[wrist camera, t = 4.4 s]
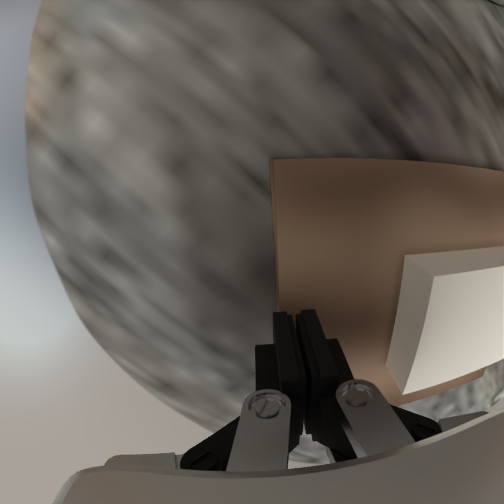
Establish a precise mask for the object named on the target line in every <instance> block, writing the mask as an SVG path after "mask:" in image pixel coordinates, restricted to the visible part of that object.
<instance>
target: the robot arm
mask: <svg viewBox="0 0 504 504" xmlns="http://www.w3.org/2000/svg"><path fill="white" fill-rule="evenodd" d="M491 1H493V2H495V3H497V4H500V5H504V0H491ZM273 340H274V344H266V345H255V364H256V391H255V392H254V393H252V394H250V395H249V396H248V397H247V398H246V399H245V401H244V403H243V407H242V411H241V415H240V416H239V417H237V418H236V419H235V420H233V421H232V422H230V423H229V424H227V425H226V426H225V427H223V428H222V429H220V430H219V431H217V432H216V433H214V434H213V435H211V436H210V437H208V438H207V439H205V440H203V441H202V442H201V443H199V444H197V445H196V446H194V447H192V448H191V449H189V450H188V451H187V452H186V453H184V454H182V455H175V453H160V454H141V455H116V456H113V457H112V458H109V459H108V460H107V462H106V463H105V465H104V466H97V467H91V468H87V469H83V470H80V471H78V472H76V473H75V474H73V475H72V476H71V477H70V478H69V479H68V480H67V481H66V482H65V484H64V485H63V486H62V488H61V490H60V491H59V493H58V494H57V496H56V498H55V500H54V503H53V504H504V409H500V410H496V411H494V412H491V413H488V412H485V411H481V412H475V413H470V414H465V415H460V416H455V417H449V418H442V419H439V421H438V422H435V421H434V420H432V419H430V418H427V417H424V416H421V415H418V414H415V413H412V412H410V411H407V410H404V409H401V408H399V407H396V406H393V405H391V404H389V403H388V402H387V400H386V399H385V397H384V396H383V395H382V393H381V392H380V390H379V389H378V388H377V387H376V386H375V385H374V384H373V383H371V382H369V381H366V380H363V379H354V377H353V374H352V372H351V369H350V367H349V365H348V362H347V360H346V357H345V355H344V353H343V350H342V348H341V346H340V343H339V341H338V339H337V338H333V339H326V337H325V334H324V332H323V329H322V326H321V324H320V321H319V319H318V316H317V313H316V311H315V309H307V310H301V312H300V314H296V322H295V325H294V321H293V317H292V314H289V315H287V312H286V311H281V312H273ZM303 421H304V425H305V431H306V434H311V435H312V440H313V441H317V442H319V443H321V444H322V445H324V446H325V451H326V454H327V456H328V459H329V461H330V463H331V464H325V465H319V466H311V467H303V468H294V469H288V459H289V453H290V452H291V451H292V450H293V449H294V448H295V447H296V446H297V445H298V444H299V438H300V435H302V432H303Z"/></svg>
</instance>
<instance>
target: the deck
mask: <svg viewBox="0 0 504 504" xmlns="http://www.w3.org/2000/svg"><path fill="white" fill-rule="evenodd" d="M269 165H270V181H271V198H272V216H273V236H274V257H275V280H276V306H277V312H281V311H286V312H287V315H289V314H292V317H293V321H294V325H295V322H296V314H300V312H301V310H307V309H315V311H316V313H317V316H318V319H319V321H320V324H321V326H322V329H323V332H324V334H325V337H326V339H333V338H337V339H338V341H339V343H340V346H341V348H342V350H343V353H344V355H345V357H346V360H347V362H348V365H349V367H350V369H351V372H352V374H353V377H354V379H363V380H366V381H369V382H371V383H373V384H374V385H375V386H376V387H377V388H378V389H379V390H380V392H381V393H382V395H383V396H384V397H385V399H386V400H387V402H388V403H389V404H391V405H393V406H399V405H402V404H406V403H410V402H413V401H416V400H420V399H423V398H426V397H429V396H432V395H435V394H438V393H441V392H444V391H447V390H450V389H452V388H455V387H458V386H460V385H463V384H465V383H468V382H470V381H473V380H475V379H477V378H480V377H482V376H483V374H484V371H485V369H486V367H487V366H486V367H483V368H481V369H478V370H476V371H474V372H471V373H469V374H466V375H463V376H461V377H458V378H455V379H452V380H450V381H447V382H444V383H441V384H438V385H435V386H432V387H428V388H425V389H422V390H418V391H415V392H411V393H408V394H404V395H402V393H401V391H400V389H399V388H398V386H397V384H396V382H395V380H394V379H393V377H392V375H391V373H390V371H389V370H388V368H387V366H386V361H387V356H388V352H389V348H390V344H391V339H392V334H393V329H394V324H395V319H396V314H397V308H398V302H399V296H400V289H401V282H402V275H403V267H404V258H405V255H413V254H425V253H436V252H447V251H458V250H469V249H479V248H489V247H499V246H504V172H503V171H497V170H491V169H485V168H478V167H470V166H463V165H454V164H445V163H435V162H424V161H411V160H395V159H372V158H293V159H271V160H269ZM303 423H304V421H303Z"/></svg>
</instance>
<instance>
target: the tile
mask: <svg viewBox="0 0 504 504" xmlns="http://www.w3.org/2000/svg"><path fill="white" fill-rule="evenodd" d="M503 358H504V246H499V247H489V248H479V249H469V250H458V251H447V252H436V253H425V254H413V255H405V258H404V267H403V275H402V282H401V289H400V296H399V302H398V308H397V314H396V319H395V324H394V329H393V334H392V339H391V344H390V348H389V352H388V356H387V361H386V366H387V368H388V370H389V371H390V373H391V375H392V377H393V379H394V380H395V382H396V384H397V386H398V388H399V389H400V391H401V393H402V395H404V394H408V393H411V392H415V391H418V390H422V389H425V388H428V387H432V386H435V385H438V384H441V383H444V382H447V381H450V380H452V379H455V378H458V377H461V376H463V375H466V374H469V373H471V372H474V371H476V370H478V369H481V368H483V367H486V366H488V365H490V364H492V363H495V362H497V361H499V360H501V359H503Z"/></svg>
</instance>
